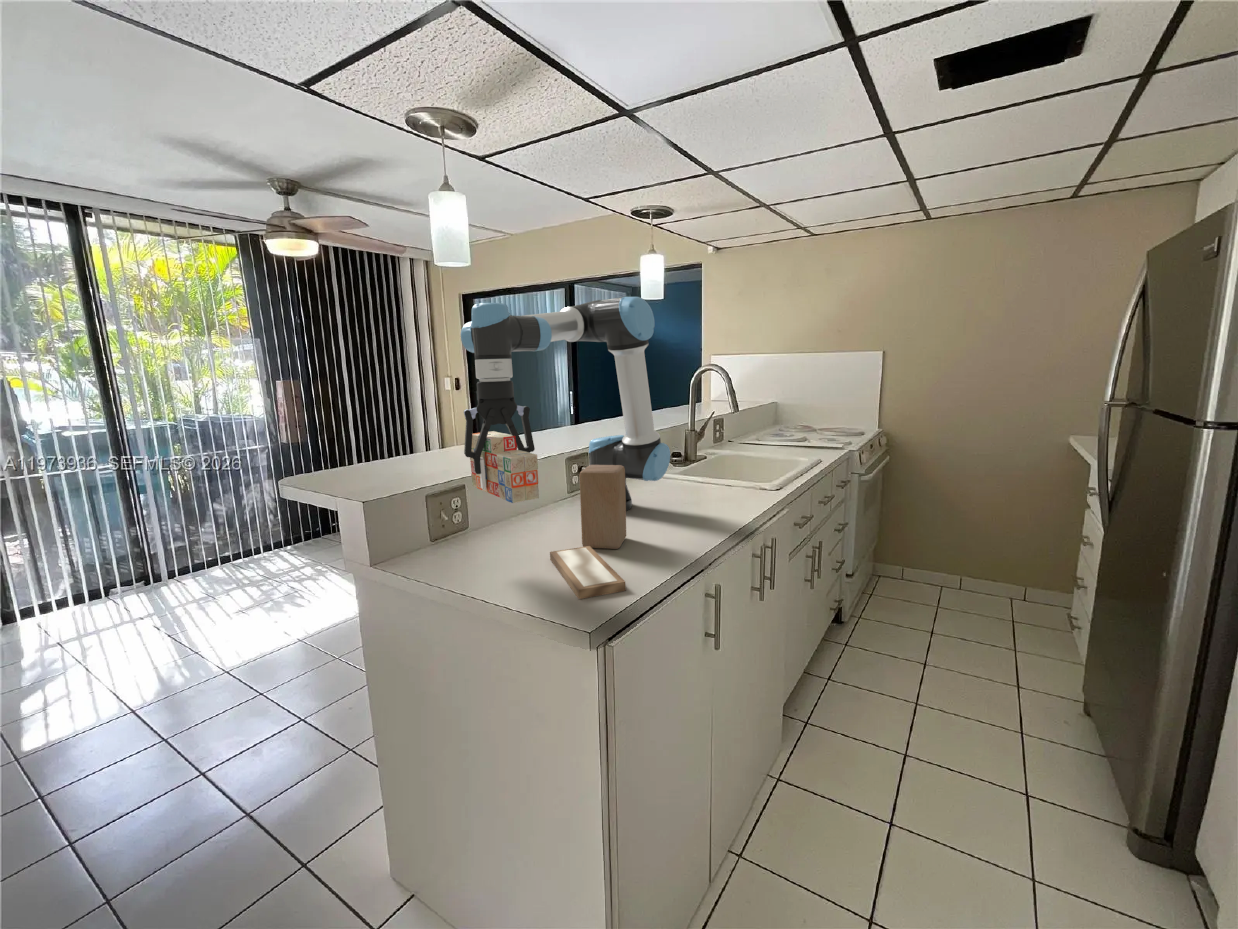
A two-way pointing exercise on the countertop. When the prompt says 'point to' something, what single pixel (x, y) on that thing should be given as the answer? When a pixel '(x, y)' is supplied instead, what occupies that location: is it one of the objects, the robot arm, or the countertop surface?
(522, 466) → the stack of blocks
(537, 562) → the countertop surface
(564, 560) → the picture frame
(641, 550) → the countertop surface
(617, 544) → the block
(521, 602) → the countertop surface
